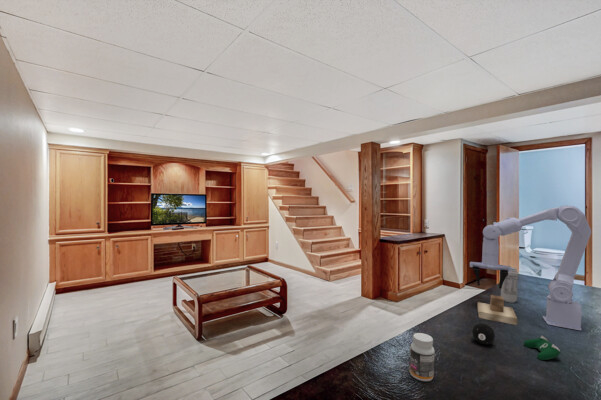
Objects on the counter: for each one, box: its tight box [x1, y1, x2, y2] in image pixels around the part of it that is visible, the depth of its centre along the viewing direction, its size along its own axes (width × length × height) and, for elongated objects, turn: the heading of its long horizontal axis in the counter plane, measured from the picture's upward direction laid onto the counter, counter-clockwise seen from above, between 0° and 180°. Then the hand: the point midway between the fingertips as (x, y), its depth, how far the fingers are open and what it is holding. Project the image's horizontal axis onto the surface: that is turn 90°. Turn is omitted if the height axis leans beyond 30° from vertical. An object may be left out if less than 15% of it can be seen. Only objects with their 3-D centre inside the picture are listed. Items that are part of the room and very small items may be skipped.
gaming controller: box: [523, 335, 561, 361], centre depth 89 cm, size 9×4×6 cm
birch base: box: [476, 301, 518, 326], centre depth 117 cm, size 12×12×3 cm
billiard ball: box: [471, 322, 496, 345], centre depth 94 cm, size 6×6×6 cm
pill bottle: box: [409, 332, 436, 382], centre depth 76 cm, size 6×6×10 cm
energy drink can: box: [500, 266, 519, 304], centre depth 135 cm, size 6×6×15 cm
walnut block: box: [489, 294, 505, 312], centre depth 117 cm, size 4×4×5 cm
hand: (489, 286), depth 124 cm, fingers open, 7 cm apart
